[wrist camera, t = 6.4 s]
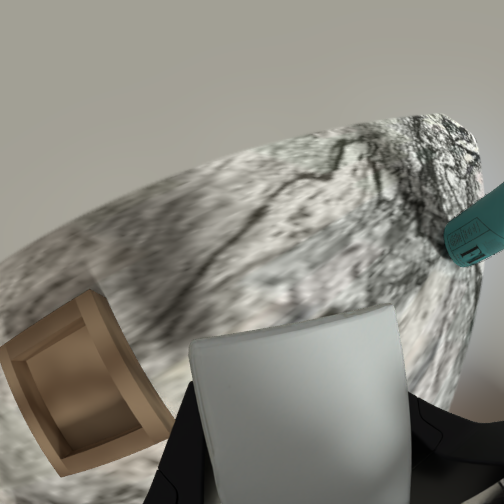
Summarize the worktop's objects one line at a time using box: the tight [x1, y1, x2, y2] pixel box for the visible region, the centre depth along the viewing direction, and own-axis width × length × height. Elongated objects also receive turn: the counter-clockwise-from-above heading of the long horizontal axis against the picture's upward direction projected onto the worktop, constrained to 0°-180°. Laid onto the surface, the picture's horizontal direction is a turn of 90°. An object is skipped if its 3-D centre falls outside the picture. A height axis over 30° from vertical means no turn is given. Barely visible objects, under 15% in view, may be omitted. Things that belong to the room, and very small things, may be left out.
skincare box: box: [188, 303, 411, 504], centre depth 9 cm, size 6×4×12 cm
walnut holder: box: [0, 289, 175, 477], centre depth 16 cm, size 12×12×4 cm
